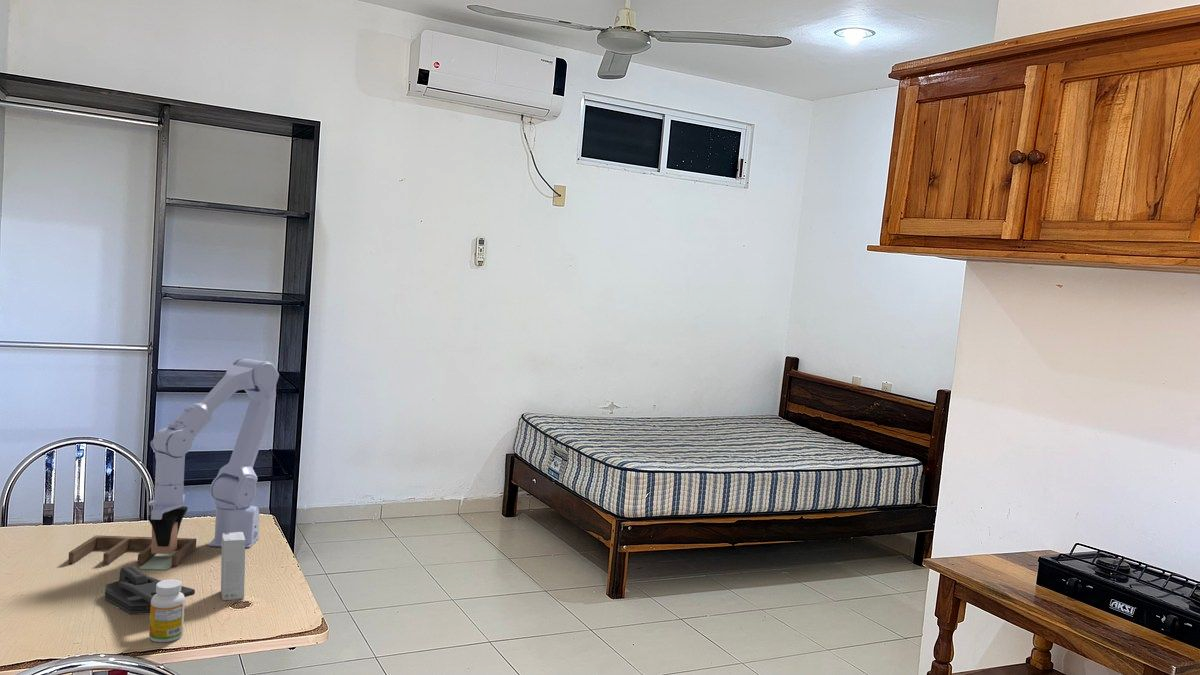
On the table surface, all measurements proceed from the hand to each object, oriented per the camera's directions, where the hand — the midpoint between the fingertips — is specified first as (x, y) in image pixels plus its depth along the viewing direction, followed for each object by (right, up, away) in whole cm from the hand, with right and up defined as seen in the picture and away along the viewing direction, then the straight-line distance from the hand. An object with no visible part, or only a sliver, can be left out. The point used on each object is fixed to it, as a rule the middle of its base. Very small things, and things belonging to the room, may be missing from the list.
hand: (167, 542), depth 194 cm
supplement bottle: (+20, -7, -40) cm, 45 cm away
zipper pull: (+10, -6, -28) cm, 31 cm away
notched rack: (-7, -3, -1) cm, 8 cm away
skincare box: (+22, -6, -18) cm, 29 cm away
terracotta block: (-1, -2, 0) cm, 2 cm away
